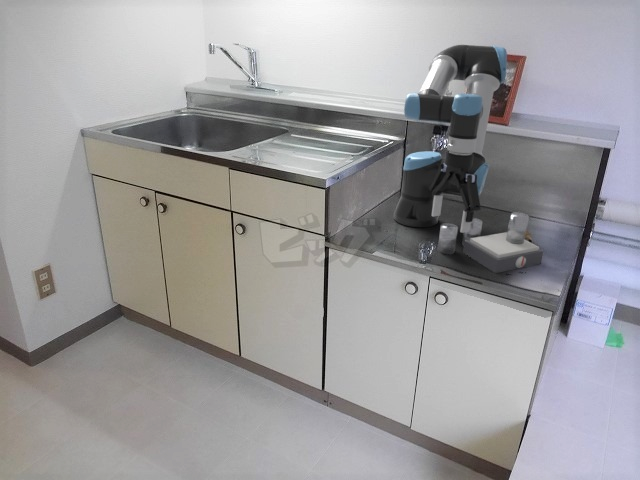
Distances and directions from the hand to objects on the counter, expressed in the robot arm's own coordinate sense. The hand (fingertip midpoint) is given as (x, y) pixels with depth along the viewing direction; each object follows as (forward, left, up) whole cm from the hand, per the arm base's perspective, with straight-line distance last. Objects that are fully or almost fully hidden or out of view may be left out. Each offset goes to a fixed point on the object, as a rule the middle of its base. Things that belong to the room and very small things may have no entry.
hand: (449, 223), depth 151 cm
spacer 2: (-1, +10, -9) cm, 14 cm away
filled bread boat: (+1, +28, -9) cm, 30 cm away
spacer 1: (0, 0, -9) cm, 9 cm away
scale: (+10, +13, -9) cm, 18 cm away
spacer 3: (+10, +17, -4) cm, 20 cm away
